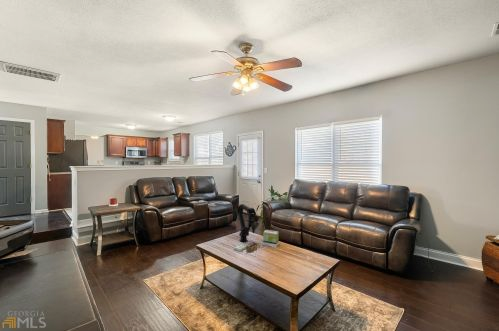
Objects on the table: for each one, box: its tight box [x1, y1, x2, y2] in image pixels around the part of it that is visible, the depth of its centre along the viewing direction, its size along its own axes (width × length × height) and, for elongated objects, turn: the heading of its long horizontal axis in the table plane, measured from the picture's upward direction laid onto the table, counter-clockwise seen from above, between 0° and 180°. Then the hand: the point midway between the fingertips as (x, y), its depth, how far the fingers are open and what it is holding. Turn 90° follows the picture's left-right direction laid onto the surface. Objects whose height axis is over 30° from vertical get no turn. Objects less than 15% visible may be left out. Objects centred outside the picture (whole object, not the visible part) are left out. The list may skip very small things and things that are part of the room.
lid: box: [234, 244, 247, 252], centre depth 232 cm, size 10×6×3 cm, turn 143°
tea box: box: [262, 229, 280, 248], centre depth 244 cm, size 15×10×15 cm
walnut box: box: [245, 242, 258, 254], centre depth 228 cm, size 12×5×6 cm, turn 143°
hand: (250, 234), depth 242 cm, fingers open, 9 cm apart
